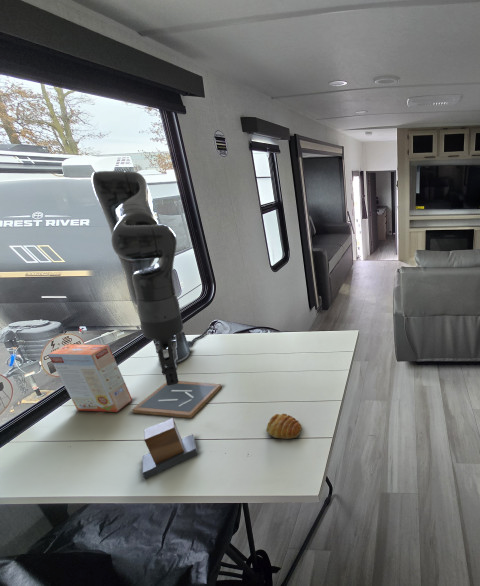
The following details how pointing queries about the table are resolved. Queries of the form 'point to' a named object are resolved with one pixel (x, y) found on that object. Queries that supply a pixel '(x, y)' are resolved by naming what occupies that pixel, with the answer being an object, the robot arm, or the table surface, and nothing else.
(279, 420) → the pastry
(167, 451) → the eraser
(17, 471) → the table surface
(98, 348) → the cracker box
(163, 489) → the table surface
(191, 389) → the board
